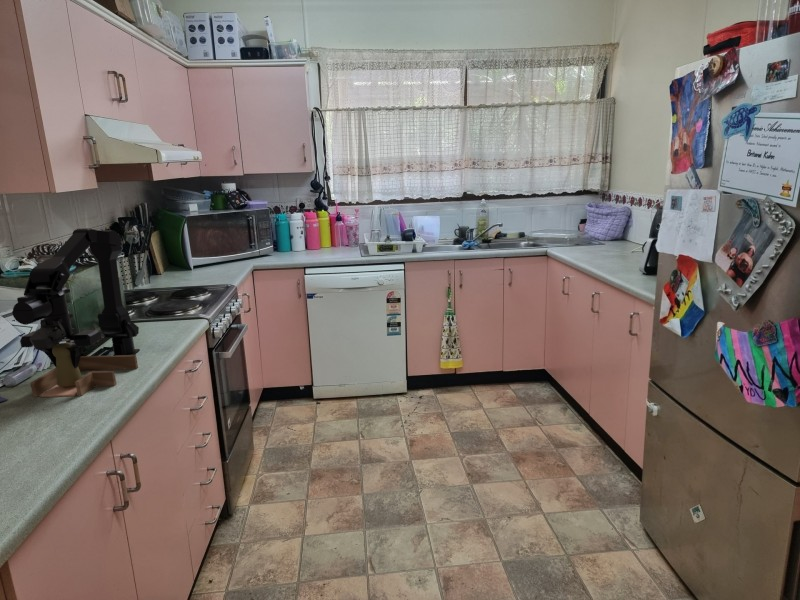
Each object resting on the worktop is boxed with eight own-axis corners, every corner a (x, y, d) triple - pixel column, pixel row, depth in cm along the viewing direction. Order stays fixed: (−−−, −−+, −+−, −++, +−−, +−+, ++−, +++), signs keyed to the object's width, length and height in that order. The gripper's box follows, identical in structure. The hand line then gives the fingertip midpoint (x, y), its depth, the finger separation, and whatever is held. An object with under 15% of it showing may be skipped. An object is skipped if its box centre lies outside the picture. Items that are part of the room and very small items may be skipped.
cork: (87, 376, 146) (79, 339, 144) (75, 385, 141) (67, 347, 138) (65, 377, 146) (57, 340, 144) (52, 386, 141) (43, 348, 138)
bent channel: (77, 369, 157) (74, 356, 156) (138, 367, 156) (136, 355, 155) (33, 396, 138) (30, 382, 137) (102, 395, 138) (99, 381, 137)
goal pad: (62, 382, 147) (62, 381, 147) (94, 381, 147) (93, 380, 147) (40, 396, 138) (40, 395, 138) (74, 395, 138) (73, 394, 138)
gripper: (-2, 323, 131) (12, 381, 135) (71, 321, 130) (83, 379, 134) (29, 310, 142) (41, 364, 146) (97, 309, 141) (107, 363, 145)
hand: (67, 368), depth 142 cm, fingers closed on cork, 4 cm apart
